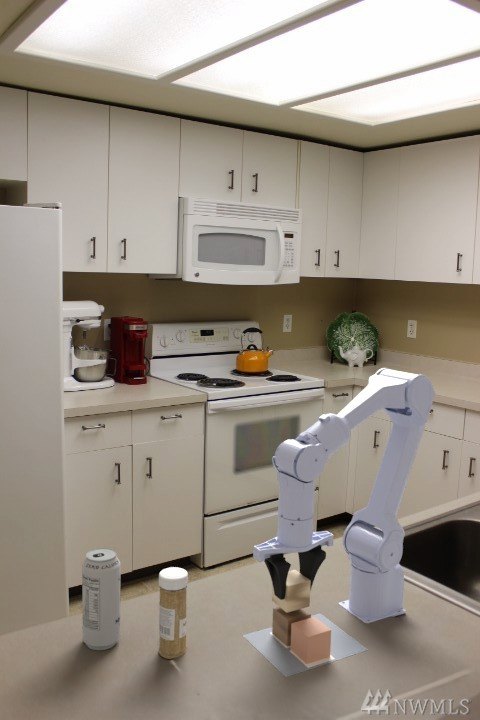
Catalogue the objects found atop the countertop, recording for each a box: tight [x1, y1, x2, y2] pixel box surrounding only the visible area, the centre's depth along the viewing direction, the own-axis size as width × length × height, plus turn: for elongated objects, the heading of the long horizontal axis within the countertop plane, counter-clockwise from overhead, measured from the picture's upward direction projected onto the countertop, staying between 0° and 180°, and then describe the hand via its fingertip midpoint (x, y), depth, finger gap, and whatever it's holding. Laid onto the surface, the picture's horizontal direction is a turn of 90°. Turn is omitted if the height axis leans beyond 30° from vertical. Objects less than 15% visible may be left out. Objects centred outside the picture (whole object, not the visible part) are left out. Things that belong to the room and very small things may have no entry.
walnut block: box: [271, 606, 312, 647], centre depth 111 cm, size 4×4×4 cm
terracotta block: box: [290, 617, 331, 664], centre depth 106 cm, size 4×4×4 cm
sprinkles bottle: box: [158, 566, 189, 660], centre depth 106 cm, size 5×5×13 cm
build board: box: [242, 613, 369, 678], centre depth 110 cm, size 16×13×1 cm
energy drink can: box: [81, 547, 122, 651], centre depth 108 cm, size 6×6×15 cm
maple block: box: [271, 569, 311, 613], centre depth 111 cm, size 4×4×4 cm
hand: (292, 593), depth 110 cm, fingers closed on maple block, 4 cm apart
